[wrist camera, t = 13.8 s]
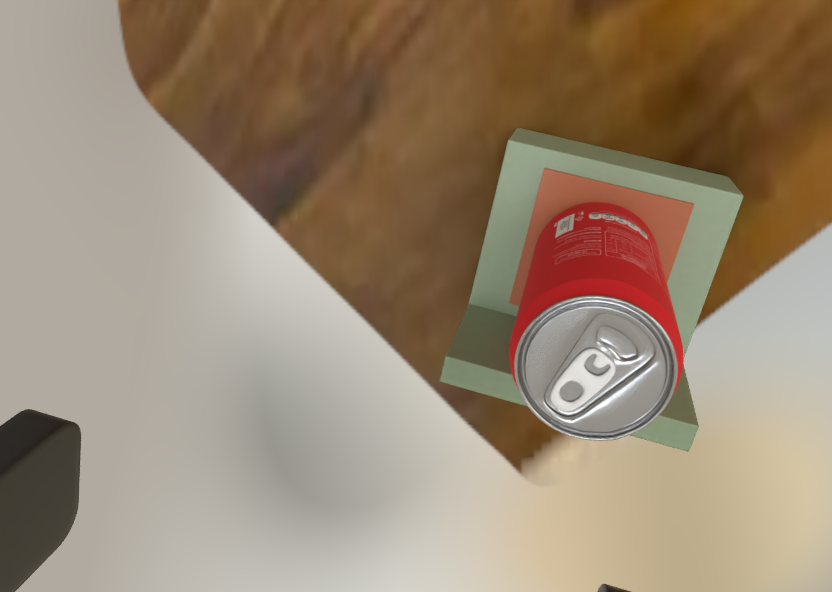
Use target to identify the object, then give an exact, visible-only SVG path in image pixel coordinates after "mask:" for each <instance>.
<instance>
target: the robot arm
mask: <svg viewBox="0 0 832 592" xmlns="http://www.w3.org/2000/svg"><path fill="white" fill-rule="evenodd" d="M80 449H81V432H80V428H79V426H78V425H77V424H76V423H74V422H71V421H68V420H64V419H61V418H57V417H54V416H51V415H48V414H44V413H41V412H38V411H35V410H30V409H28V410H24V411H21V412H20V413H18V414H17V415H15V416H14V417H12V418H11V419H10V420H8V421H7V422H5V423H4V424H3V425H1V426H0V592H15V591H16V590H17V589H18V588H19V587H20V586H21V585H22V584H23V583H24V582H25V581H26V580H27V579H28V578H29V577H30V576H31V575H32V574H33V573H34V572H35V570H37V569H38V568H39V566H40V565H41V564H42V563H43V562H44V561H45V560H46V559H47V558H48V557H49V556H50V555H51V554H52V553H53V552H54V551H55V550H56V549H57V548H58V547H59V546H60V545H61V543H62V542H63V541H64V539H65V538H66V536H67V535H68V533H69V531H70V529H71V527H72V525H73V523H74V520H75V517H76V514H77V510H78V503H79V476H80V475H79V474H80ZM598 592H630V591H626V590H623V589H620V588H617V587H613V586H610V585H607V584H602V585H601V587H600V588H599V590H598Z"/></svg>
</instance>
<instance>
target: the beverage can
mask: <svg viewBox="0 0 832 592" xmlns="http://www.w3.org/2000/svg"><path fill="white" fill-rule="evenodd" d="M509 360H510V367H511V372H512V376H513V378H514V381H515V383H516V386H517V388H518V389H519V392H520V394H521V396H522V398H523V400H524V401H525V403H526V404H527V406H528V407H529V408H530V410H531V411H532V412H533V413H534V414H535V415H536V416H537V417H538V418H539V419H540V420H541V421H543V422H544V423H545V424H547V425H548V426H550V427H551V428H553V429H555V430H557V431H558V432H561V433H563V434H565V435H568V436H571V437H575V438H579V439H585V440H598V441H603V440H616V439H619V438H622V437H625V436H628V435H630V434H633V433H635V432H637V431H639V430H641V429H643V428H644V427H646V426H647V425H649V424H650V423H651V422H652V421H654V420H655V419H656V418H657V417H658V416H659V415H660V414H661V413H662V411H663V410H664V409H665V407H666V406H667V404H668V403H669V401H670V399H671V397H672V395H673V393H674V392H675V390H676V388H677V386H678V383H679V381H680V378H681V374H682V369H683V345H682V340H681V336H680V332H679V329H678V325H677V321H676V317H675V313H674V309H673V305H672V302H671V298H670V294H669V290H668V286H667V282H666V278H665V275H664V271H663V267H662V263H661V259H660V255H659V251H658V248H657V244H656V241H655V239H654V237H653V234H652V233H651V231H650V229H649V228H648V227H647V225H646V224H645V223H644V222H643V221H642V220H641V219H640V218H639V217H638V216H637V215H635V214H634V213H632V212H631V211H629V210H627V209H625V208H623V207H620V206H618V205H614V204H610V203H604V202H589V203H583V204H579V205H576V206H573V207H570V208H568V209H566V210H564V211H563V212H561V213H560V214H558V215H557V216H555V217H554V218H553V219H552V220H551V221H550V222H549V223H548V224H547V225H546V227H545V228H544V229H543V231H542V232H541V234H540V236H539V238H538V240H537V243H536V246H535V250H534V253H533V257H532V261H531V265H530V268H529V272H528V276H527V280H526V283H525V287H524V291H523V295H522V298H521V302H520V306H519V310H518V313H517V317H516V321H515V325H514V328H513V332H512V336H511V341H510V348H509Z"/></svg>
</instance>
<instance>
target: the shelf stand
mask: <svg viewBox="0 0 832 592" xmlns="http://www.w3.org/2000/svg"><path fill="white" fill-rule="evenodd" d="M742 199H743V194H742V193H741V192H740V191H739V190H738V188H737V187H736V186H735V185H734V183H733V182H732V181H731V180H730V178H729V177H727V176H723V175H719V174H714V173H710V172H706V171H702V170H697V169H693V168H689V167H685V166H680V165H676V164H672V163H667V162H663V161H659V160H655V159H650V158H646V157H642V156H638V155H633V154H629V153H625V152H620V151H616V150H612V149H608V148H603V147H599V146H595V145H591V144H586V143H582V142H578V141H573V140H569V139H565V138H561V137H556V136H552V135H548V134H544V133H539V132H535V131H531V130H526V129H522V128H517V129H516V130H515V132H514V133H513V134H512V136H511V137H510V139H509V140H508V142H507V147H506V151H505V155H504V159H503V163H502V167H501V172H500V176H499V180H498V184H497V188H496V192H495V196H494V201H493V205H492V209H491V213H490V217H489V221H488V226H487V230H486V234H485V238H484V242H483V246H482V250H481V255H480V259H479V263H478V267H477V271H476V275H475V279H474V284H473V288H472V292H471V296H470V300H469V304H468V307H467V309H466V311H465V313H464V316H463V318H462V320H461V322H460V325H459V327H458V329H457V331H456V334H455V336H454V338H453V340H452V343H451V345H450V347H449V349H448V352H447V354H446V356H445V360H444V364H443V368H442V373H441V377H440V382H443V383H447V384H450V385H454V386H458V387H461V388H465V389H468V390H472V391H475V392H479V393H482V394H486V395H489V396H493V397H496V398H500V399H504V400H507V401H511V402H514V403H518V404H521V405H525V406H527V404H526V403H525V401H524V400H523V398H522V396H521V394H520V392H519V389H518V388H517V386H516V383H515V381H514V378H513V376H512V372H511V367H510V360H509V348H510V341H511V336H512V332H513V328H514V325H515V321H516V317H517V313H518V310H519V306H520V302H521V298H522V295H523V291H524V287H525V283H526V280H527V276H528V272H529V268H530V265H531V261H532V257H533V253H534V250H535V246H536V243H537V240H538V238H539V236H540V234H541V232H542V231H543V229H544V228H545V227H546V225H547V224H548V223H549V222H550V221H551V220H552V219H553V218H554V217H555V216H557V215H558V214H560V213H561V212H563V211H564V210H566V209H568V208H570V207H573V206H576V205H579V204H583V203H589V202H604V203H610V204H614V205H618V206H620V207H623V208H625V209H627V210H629V211H631V212H632V213H634V214H635V215H637V216H638V217H639V218H640V219H641V220H642V221H643V222H644V223H645V224H646V225H647V227H648V228H649V229H650V231H651V233H652V234H653V237H654V239H655V241H656V244H657V248H658V251H659V255H660V259H661V263H662V267H663V271H664V275H665V278H666V282H667V286H668V290H669V294H670V298H671V302H672V305H673V309H674V313H675V317H676V321H677V325H678V329H679V332H680V336H681V340H682V345H683V359H684V356H685V353H686V351H687V348H688V345H689V342H690V340H691V337H692V334H693V332H694V329H695V326H696V324H697V321H698V318H699V315H700V313H701V310H702V307H703V305H704V302H705V299H706V297H707V294H708V291H709V288H710V286H711V283H712V280H713V278H714V275H715V272H716V269H717V267H718V264H719V261H720V259H721V256H722V253H723V250H724V248H725V245H726V242H727V240H728V237H729V234H730V231H731V229H732V226H733V223H734V221H735V218H736V215H737V212H738V210H739V207H740V204H741V202H742ZM698 427H699V426H698V422H697V418H696V413H695V409H694V406H693V401H692V397H691V394H690V389H689V385H688V381H687V377H686V373H685V369H684V365H683V369H682V374H681V378H680V381H679V383H678V386H677V388H676V390H675V392H674V393H673V395H672V397H671V399H670V401H669V403H668V404H667V406H666V407H665V409H664V410H663V411H662V413H661V414H660V415H659V416H658V417H657V418H656V419H655V420H654V421H652V422H651V423H650V424H649V425H647V426H646V427H644V428H643V429H641V430H639V431H637V432H635V433H633V434H630V435H631V436H635V437H638V438H641V439H645V440H649V441H652V442H656V443H659V444H663V445H666V446H670V447H673V448H677V449H680V450H684V451H687V452H688V451H689V450H690V448H691V445H692V443H693V440H694V437H695V435H696V432H697V430H698Z"/></svg>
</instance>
